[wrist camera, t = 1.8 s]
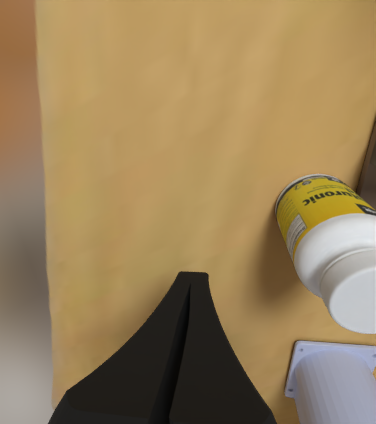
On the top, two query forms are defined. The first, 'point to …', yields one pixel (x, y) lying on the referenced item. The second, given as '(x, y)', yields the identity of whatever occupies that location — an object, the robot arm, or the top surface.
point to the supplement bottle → (332, 246)
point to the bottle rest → (369, 174)
